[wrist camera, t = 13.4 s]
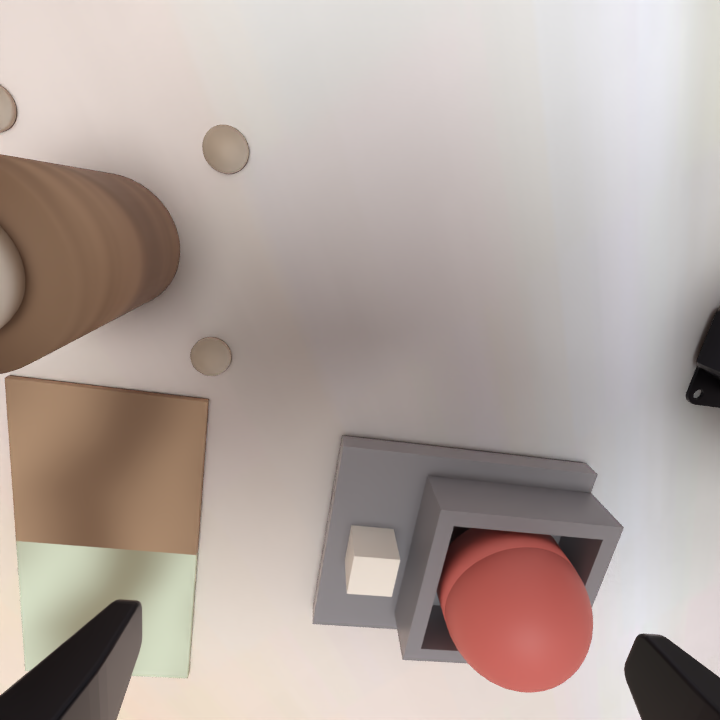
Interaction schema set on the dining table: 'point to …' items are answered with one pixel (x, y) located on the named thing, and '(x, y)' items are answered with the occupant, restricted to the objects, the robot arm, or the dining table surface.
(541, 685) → the red ball
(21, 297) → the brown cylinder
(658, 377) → the dining table surface
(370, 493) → the console
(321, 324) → the dining table surface
